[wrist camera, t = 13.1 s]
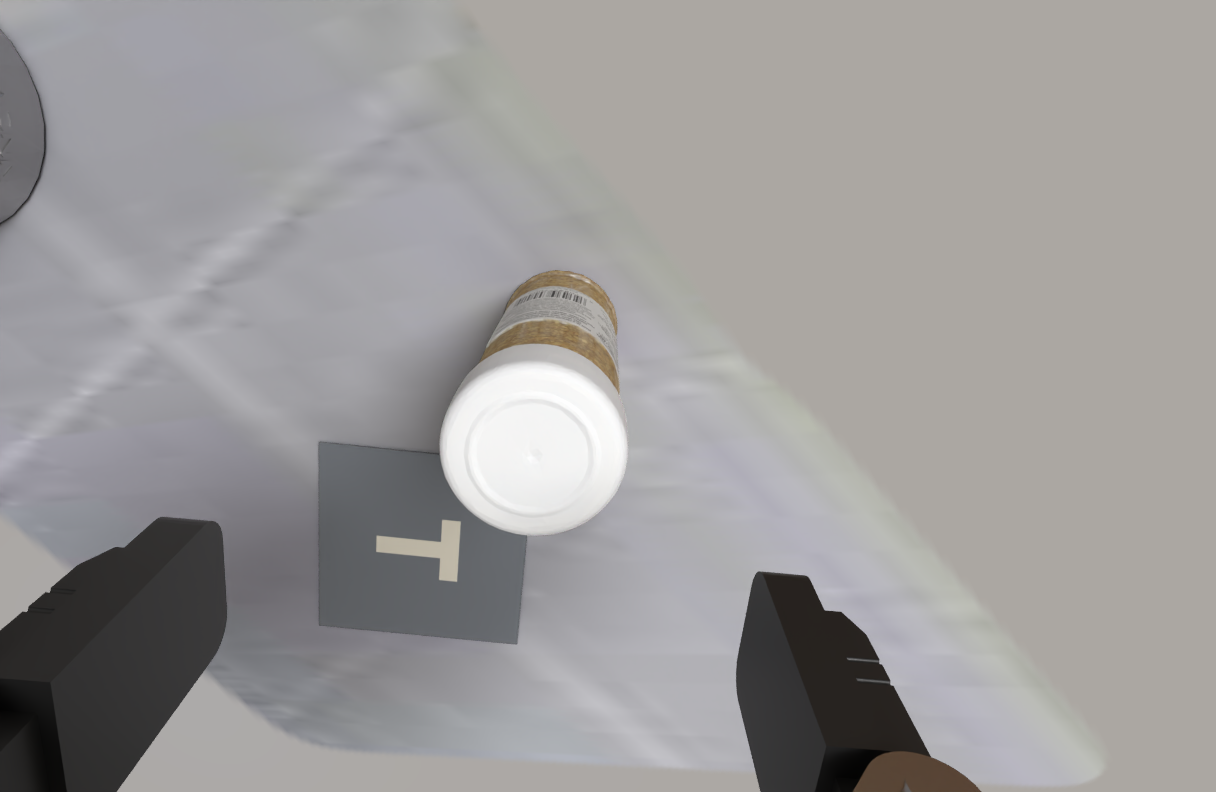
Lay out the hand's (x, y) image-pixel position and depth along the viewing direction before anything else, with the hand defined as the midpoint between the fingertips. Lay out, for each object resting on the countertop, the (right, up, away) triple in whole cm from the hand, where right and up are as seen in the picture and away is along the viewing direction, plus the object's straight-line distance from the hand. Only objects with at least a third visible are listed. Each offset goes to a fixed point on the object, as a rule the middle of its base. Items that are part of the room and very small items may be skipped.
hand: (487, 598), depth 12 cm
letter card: (-6, -4, +22) cm, 24 cm away
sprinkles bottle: (0, +6, +19) cm, 20 cm away
